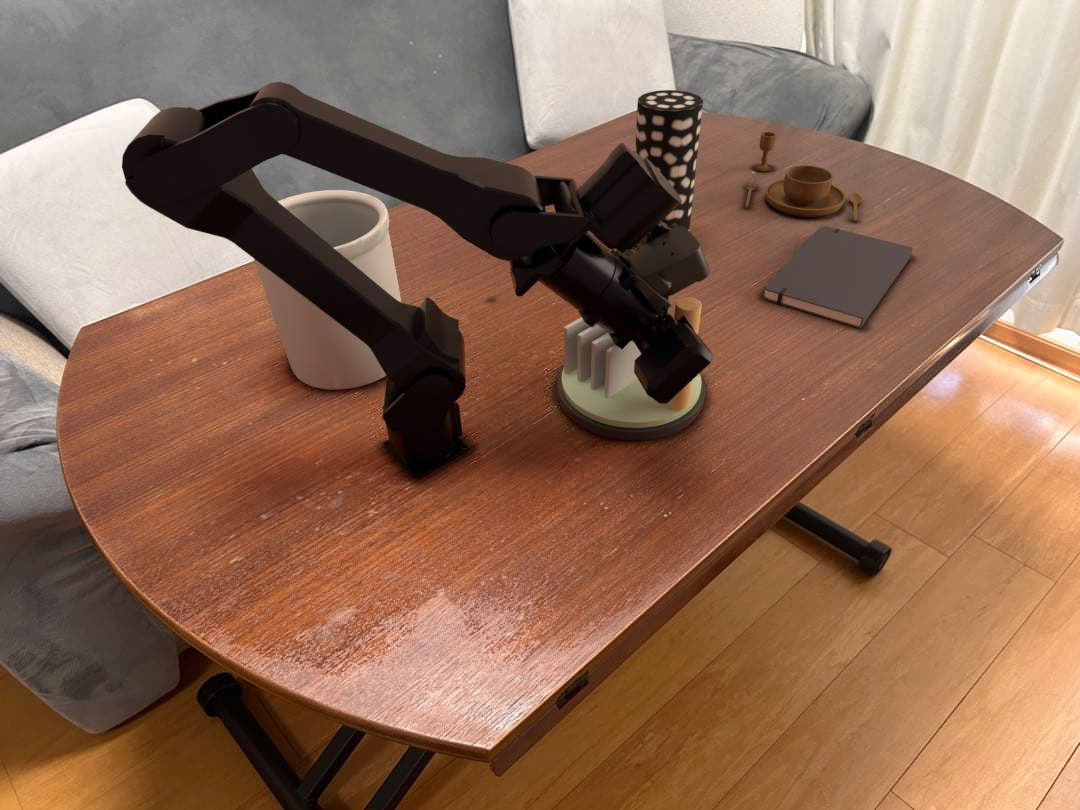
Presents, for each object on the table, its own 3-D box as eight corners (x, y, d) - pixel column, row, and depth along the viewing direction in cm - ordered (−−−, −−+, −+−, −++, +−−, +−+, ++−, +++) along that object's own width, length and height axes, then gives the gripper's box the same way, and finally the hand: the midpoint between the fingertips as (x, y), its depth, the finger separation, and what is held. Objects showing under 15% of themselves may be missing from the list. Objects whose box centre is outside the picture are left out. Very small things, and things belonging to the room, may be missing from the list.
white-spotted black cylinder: (621, 248, 108) (627, 105, 96) (642, 224, 114) (651, 87, 101) (676, 260, 105) (690, 114, 93) (696, 235, 111) (711, 94, 98)
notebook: (860, 329, 91) (910, 257, 104) (863, 318, 90) (913, 247, 103) (760, 298, 97) (819, 234, 110) (762, 288, 96) (821, 224, 109)
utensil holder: (284, 405, 83) (240, 262, 71) (283, 333, 94) (244, 199, 83) (419, 381, 85) (396, 239, 74) (402, 313, 97) (379, 181, 85)
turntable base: (630, 463, 74) (630, 454, 73) (527, 388, 84) (527, 379, 83) (734, 395, 82) (736, 386, 81) (629, 334, 92) (630, 325, 91)
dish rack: (638, 449, 74) (646, 341, 66) (533, 383, 82) (528, 281, 74) (729, 382, 82) (746, 278, 74) (624, 328, 90) (629, 230, 82)
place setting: (740, 214, 116) (746, 176, 112) (751, 164, 131) (757, 130, 127) (861, 226, 112) (871, 188, 108) (858, 173, 127) (867, 138, 123)
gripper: (702, 261, 57) (807, 357, 65) (621, 168, 71) (716, 258, 80) (599, 363, 60) (711, 441, 69) (541, 256, 74) (641, 332, 83)
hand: (695, 361), depth 75 cm, fingers closed on dish rack, 2 cm apart
